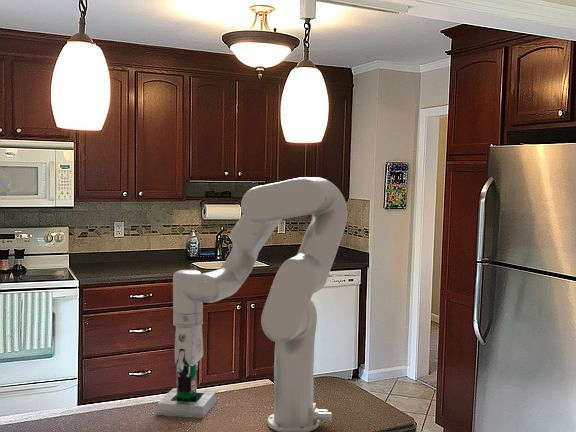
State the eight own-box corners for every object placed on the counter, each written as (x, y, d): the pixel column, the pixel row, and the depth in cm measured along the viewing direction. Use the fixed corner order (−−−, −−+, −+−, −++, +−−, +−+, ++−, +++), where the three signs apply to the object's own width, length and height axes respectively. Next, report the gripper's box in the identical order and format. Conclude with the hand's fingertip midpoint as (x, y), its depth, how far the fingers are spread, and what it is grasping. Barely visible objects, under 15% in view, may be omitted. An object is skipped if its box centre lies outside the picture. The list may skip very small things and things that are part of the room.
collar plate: (216, 401, 167) (216, 389, 167) (203, 418, 155) (203, 405, 155) (173, 399, 169) (173, 387, 168) (157, 415, 157) (157, 402, 157)
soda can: (192, 408, 159) (192, 361, 158) (173, 406, 160) (173, 360, 159) (199, 401, 164) (199, 356, 163) (180, 400, 165) (180, 355, 164)
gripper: (192, 326, 152) (192, 400, 152) (211, 312, 168) (211, 378, 169) (162, 325, 153) (162, 398, 154) (184, 311, 170) (184, 377, 170)
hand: (188, 387), depth 161 cm, fingers closed on soda can, 5 cm apart
